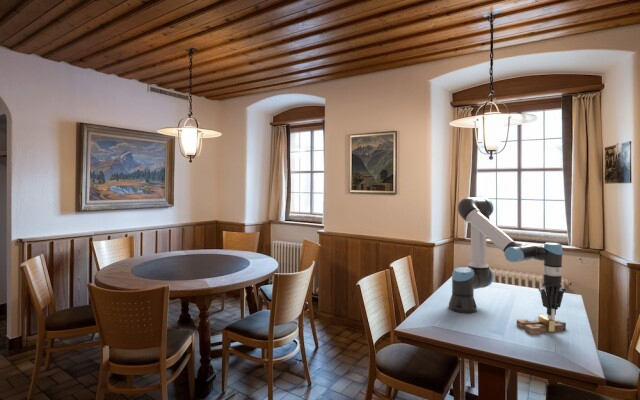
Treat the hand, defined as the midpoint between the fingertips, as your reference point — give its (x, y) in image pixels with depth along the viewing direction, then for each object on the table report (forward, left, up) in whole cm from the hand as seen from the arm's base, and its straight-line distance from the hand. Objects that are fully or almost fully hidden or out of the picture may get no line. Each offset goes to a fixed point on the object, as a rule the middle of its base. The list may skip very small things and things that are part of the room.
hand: (551, 321), depth 176 cm
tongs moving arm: (-3, -2, -4) cm, 6 cm away
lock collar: (0, -2, -4) cm, 5 cm away
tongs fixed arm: (+2, -4, -4) cm, 6 cm away
